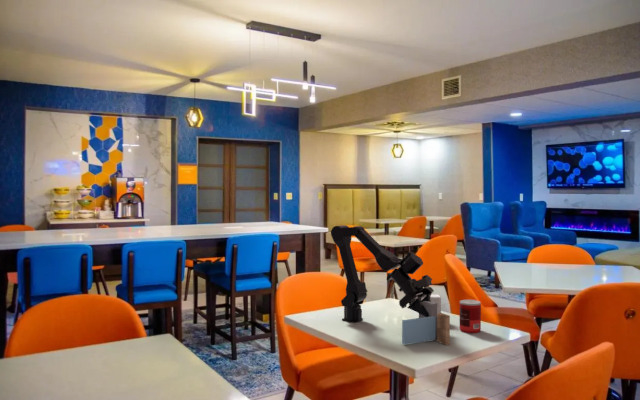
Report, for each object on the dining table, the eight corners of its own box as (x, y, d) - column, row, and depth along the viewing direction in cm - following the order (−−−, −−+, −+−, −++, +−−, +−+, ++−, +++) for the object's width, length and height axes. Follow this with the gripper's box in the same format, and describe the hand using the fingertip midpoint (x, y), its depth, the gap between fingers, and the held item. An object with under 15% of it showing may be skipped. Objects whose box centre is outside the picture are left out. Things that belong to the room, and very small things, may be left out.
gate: (436, 339, 176) (436, 315, 175) (439, 340, 174) (439, 316, 174) (401, 344, 169) (402, 320, 169) (404, 345, 168) (404, 321, 168)
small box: (439, 319, 204) (439, 294, 204) (441, 323, 198) (441, 297, 198) (419, 319, 205) (419, 293, 205) (420, 322, 199) (421, 296, 199)
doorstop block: (418, 332, 182) (418, 303, 182) (424, 330, 186) (424, 300, 186) (431, 335, 179) (431, 305, 179) (436, 332, 183) (437, 302, 183)
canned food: (481, 329, 189) (482, 300, 189) (479, 334, 182) (479, 304, 182) (461, 326, 193) (461, 298, 193) (457, 332, 185) (458, 302, 185)
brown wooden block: (437, 341, 173) (437, 313, 173) (440, 341, 174) (440, 312, 173) (446, 345, 169) (446, 316, 168) (449, 344, 169) (449, 315, 169)
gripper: (407, 271, 177) (435, 306, 171) (429, 265, 192) (456, 297, 186) (387, 290, 182) (414, 325, 176) (410, 283, 197) (436, 315, 191)
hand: (431, 315), depth 182 cm, fingers closed on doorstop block, 5 cm apart
